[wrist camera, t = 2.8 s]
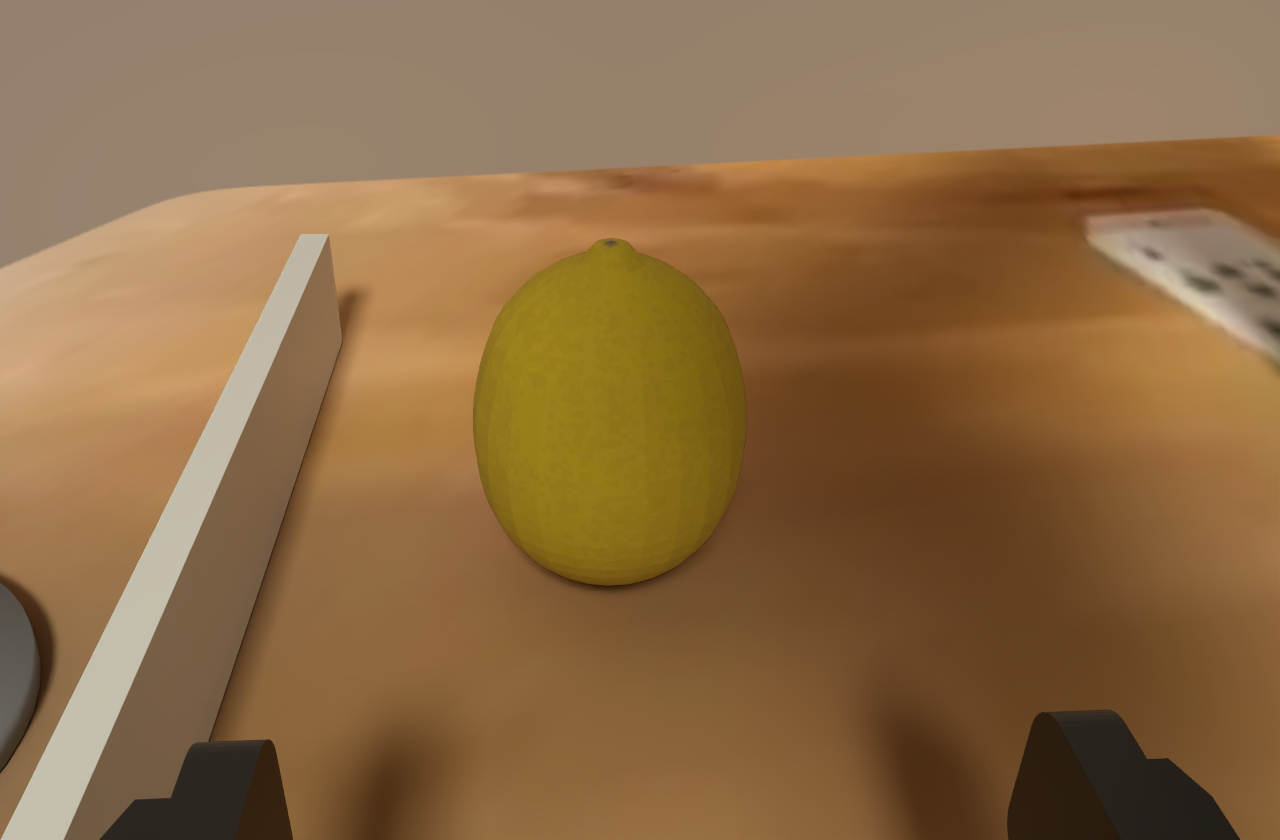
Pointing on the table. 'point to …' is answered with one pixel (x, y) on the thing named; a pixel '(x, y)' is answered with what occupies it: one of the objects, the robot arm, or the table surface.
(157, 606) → the low wall
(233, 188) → the table surface
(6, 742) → the slate mat
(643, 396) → the lemon
